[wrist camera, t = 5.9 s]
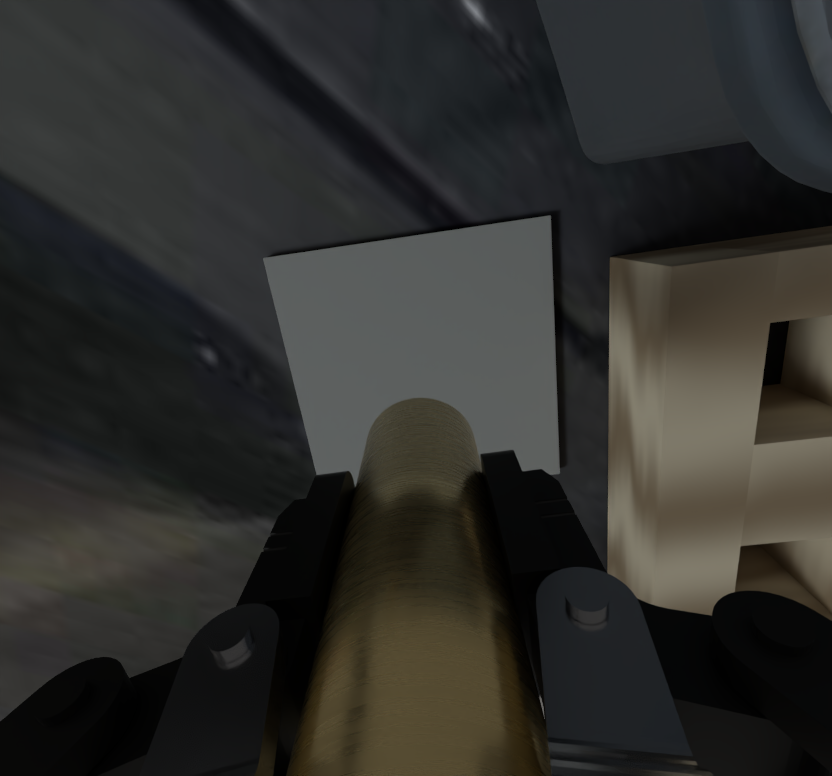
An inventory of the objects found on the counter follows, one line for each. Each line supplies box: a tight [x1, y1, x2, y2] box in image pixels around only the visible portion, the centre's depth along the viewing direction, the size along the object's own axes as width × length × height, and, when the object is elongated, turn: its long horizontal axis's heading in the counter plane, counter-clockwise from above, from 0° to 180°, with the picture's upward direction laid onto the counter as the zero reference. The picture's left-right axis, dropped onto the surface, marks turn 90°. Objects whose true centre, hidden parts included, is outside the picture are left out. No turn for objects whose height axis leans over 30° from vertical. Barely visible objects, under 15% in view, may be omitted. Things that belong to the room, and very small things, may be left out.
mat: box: [263, 215, 560, 487], centre depth 20 cm, size 12×12×1 cm
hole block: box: [607, 226, 832, 621], centre depth 19 cm, size 18×11×5 cm, turn 8°
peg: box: [286, 398, 551, 776], centre depth 8 cm, size 3×3×10 cm
